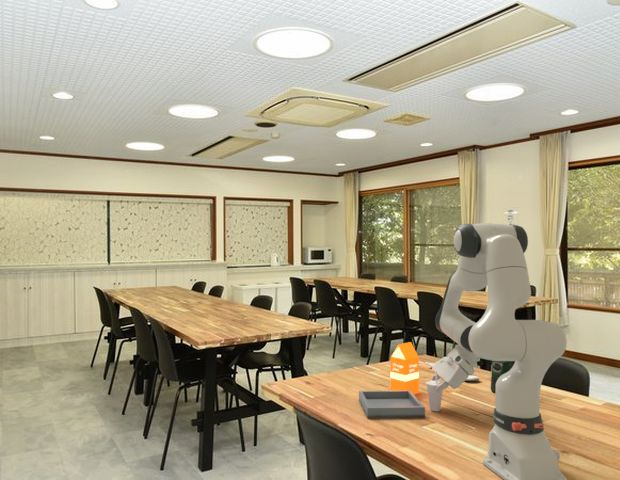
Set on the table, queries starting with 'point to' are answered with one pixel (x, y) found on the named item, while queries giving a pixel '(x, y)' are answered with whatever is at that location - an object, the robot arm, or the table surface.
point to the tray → (391, 404)
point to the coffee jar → (499, 371)
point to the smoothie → (434, 395)
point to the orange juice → (405, 369)
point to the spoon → (470, 378)
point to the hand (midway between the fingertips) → (433, 388)
